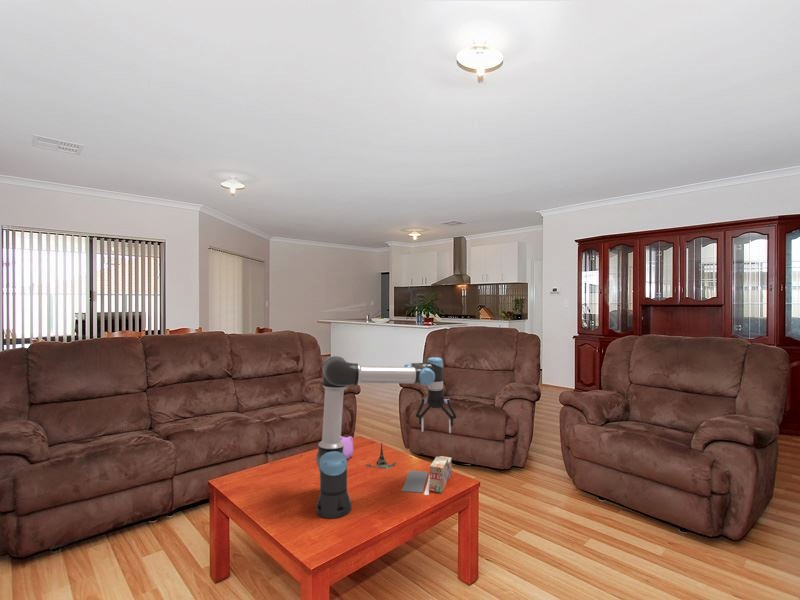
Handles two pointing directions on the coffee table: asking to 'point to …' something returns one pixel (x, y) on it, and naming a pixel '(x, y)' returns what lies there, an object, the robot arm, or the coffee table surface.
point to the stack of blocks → (440, 473)
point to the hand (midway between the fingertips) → (436, 431)
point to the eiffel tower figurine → (382, 461)
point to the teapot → (347, 446)
